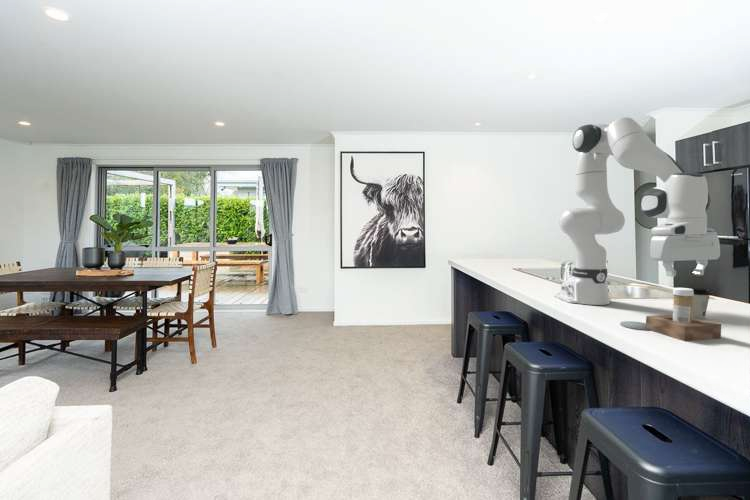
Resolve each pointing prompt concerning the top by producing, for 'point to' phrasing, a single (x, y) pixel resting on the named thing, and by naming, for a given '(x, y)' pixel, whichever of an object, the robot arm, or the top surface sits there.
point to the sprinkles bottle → (682, 305)
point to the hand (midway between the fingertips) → (684, 275)
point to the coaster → (634, 325)
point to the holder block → (684, 328)
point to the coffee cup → (700, 303)
